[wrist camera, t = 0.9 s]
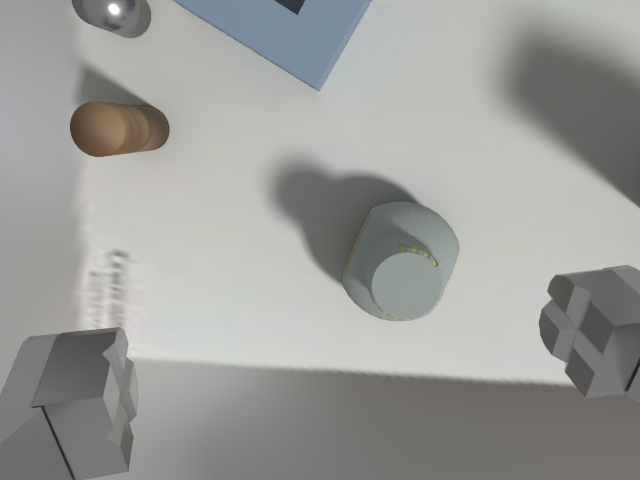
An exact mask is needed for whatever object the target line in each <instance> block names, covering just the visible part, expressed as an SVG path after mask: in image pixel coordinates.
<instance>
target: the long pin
mask: <svg viewBox="0 0 640 480" xmlns="http://www.w3.org/2000/svg"><path fill="white" fill-rule="evenodd" d="M70 131H71V136H72V138H73V141H74V142H75V144H76V145H77V147H78V148H79V149H80V150H82V151H83V152H84V153H86V154H88V155H91V156H95V157H103V156H111V155H119V154H126V153H134V152H142V151H149V150H155V149H158V148H160V147H161V146H163V145H164V144H165V142H166V141H167V139H168V136H169V124H168V121H167V119H166V117H165V115H164V114H163V113H162V112H161V111H159V110H158V109H156V108H154V107H149V106H137V105H125V104H113V103H101V102H89V103H85V104H83V105H81V106H80V107H79V108H77V109H76V111H75V112H74V114H73V115H72V118H71V122H70Z"/></svg>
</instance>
